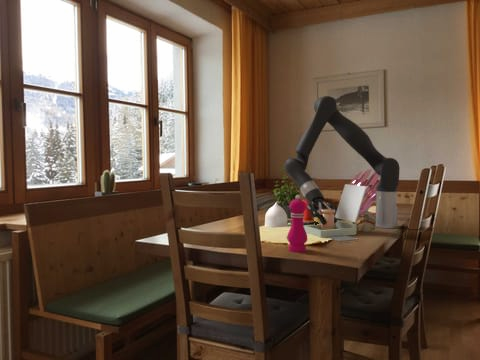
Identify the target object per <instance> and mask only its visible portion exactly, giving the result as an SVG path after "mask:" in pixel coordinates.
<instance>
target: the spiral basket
mask: <svg viewBox="0 0 480 360" xmlns="http://www.w3.org/2000/svg"><path fill="white" fill-rule="evenodd" d="M372 171H373V168H368V169H366V170H365V171H364V173H363V171H362V170H360V171H358V172H357V173H356V174H355V175H354V177H353V178H352V180H351V181H350V183H347V185H357V186H366V187H367V188H366V191H365V194H364V198H363V201H362V204H361V207H360V210H359V214H358V217H362V216H363V214H364V213H365V212H366V211H369V209H370V208H371V207H372V206H373V204H374V203H376V188H377V185H378V184H379V182H380V175H378V174H377V173H376V172H375V171H374V172H373V173H372ZM371 173H372V174H371ZM370 174H371V175H370ZM369 176H370V177H369ZM359 177H360V178H359ZM378 179H379V180H378ZM366 180H367V181H366ZM377 181H378V182H377ZM364 183H365V184H364ZM369 212H370V213H371V215H372V216H374V217H375V218H376V212H371V211H369ZM363 217H364V216H363Z"/></svg>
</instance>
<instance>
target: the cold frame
mask: <svg viewBox="0 0 480 360" xmlns="http://www.w3.org/2000/svg"><path fill="white" fill-rule="evenodd" d="M366 188H367V187H366V186H364V185H362V186H357V185H355V184H353V185H348V183H347V184H344V187H343V191H342V193H341V196H340V199H339V203H338V205H337V209H336V213H335V214H334V215H335V217H336V219H337V222H336V223H335V224H334V229H331V230H321V224H317V225H315V224H305V225H304V224H303V226H304V229H305V231H306V234H308V235H311V236H314V237H318V238H327V237H329V236H341V235H345V236H354V235H357V231H358V229H357V228H358V227H357V226H358V218H359V215H358V214H359V210H360V207H361V205H362V203H363V202H364V199H365V198H364V194H365V191H366ZM363 198H364V199H363ZM342 220H343V221H342ZM346 221H347V222H346ZM350 222H352V223H350Z"/></svg>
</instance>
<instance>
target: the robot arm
mask: <svg viewBox="0 0 480 360" xmlns="http://www.w3.org/2000/svg"><path fill="white" fill-rule="evenodd" d="M335 99H336V98H334V97H332V96H330V95H325V96H321V97H319V98H317V99H316V100H315V101H314V103H313V109H314V112H315V114H314V116H313V119H312V120H311V122H310V123H309V126H308V127H307V128H306V130H305V132H304V133H303V135H302V136H301V137H300V140H299V142H298V143H297V146H296V147H295V153H296V154H297V155H296V156H297V157H296V158H295V157H290V158H288V159H287V160H286V161H285V164H284V167H285V168H284V169H285V171H286V173H287V174H288V175H289V176H290V178H291V179H293V180H294V182H295V183H296V185H297V186H298V188H299V190H300V192H301V194H302V196H303V197H304V199H305V201H306V203H307V204H308V205H306V209H307V211H308V212H309V214H310V215H311V217H313V219H314V218H315V217H317V218H319V220H320V222H321V223H322V224H323V225H325V224H326V223H327V221H326V220H325V218H324V216H323V215H322V213H321V210H322V209H334V210H335V213H334V224H335V223H336V222H337V220H338V218H336V217H335V215H336V212H337V209H336V208H335V206H334V204H333V202H331V201H329V202H327V201H325V195H323V193H322V191H321V190H320V188H319V187H318V185H317V184H316V183H315V181H314V180H313V178H312V177H311V175H310V174H309V173H307V172H306V169H307V166H308V164H309V163H308V161H309V159H310V154H311V152H312V150H313V149H314V147H315V144H316V143H317V141H318V139H319V136H320V135H321V133H322V131H323V129H324V128H325V126H326V124H327V123H328V124H329V125H330V126H331V127H332V128H333V129H334V130H335V131H336V132H337V134H338V135H339V136H340V137H341V138H342V140H344V141H345V142H346V143H347V144H348V145H349V146H350V147H351V148H352V149H353V150H354V151H355V152H356V153H357V154H358V155H359V156H361V157H362V158H363V159H364V160H365V161H366V162H367V163H368V165H369V167H371V169H372V170H374V172H376V173H377V174H378V175H380V177H379V180H380V182H379V181H378V182H379V184H378V185H377V188H376V201H375V213H376V215H375V216H376V224H375V225H376V227H377V228H382V229H394V228H398V216H399V215H398V214H399V211H398V209H399V207H398V206H397V193H398V192H397V191H398V190H397V189H398V187H399V184H400V183H399V182H400V168H401V167H400V164H399V162H398V160H397V159H395V158H392V157H386V156H384V155H383V154H382V153H381V152H380V151H378V149H377V148H376V147H375V146H374V144H373V142H372V140H371V138H370V136H369V135H368V134H367V133H366V132H365V131H364V130H363V129H362V127H360V126H359V125H358V124H357V123H355V122H353V120H351V119H350V118H348V117H346V116H344V115H343V114H342V113H341V112H340V110H338V109H337V108H338V107H337V106H338V105H337V101H336V100H335ZM313 212H314V213H315V214H314V213H313Z"/></svg>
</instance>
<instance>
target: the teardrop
mask: <svg viewBox="0 0 480 360" xmlns="http://www.w3.org/2000/svg"><path fill="white" fill-rule="evenodd" d="M264 226H265V227H266V228H287V227H289V226H288V214H287V213H286V211H285V210H284V208H283V207H281V206H280V205H279V204H278V202H277V201H276V202H275V203H274V205H272V206H271V207H270V208H268V210H267V211H266V213H265V218H264Z"/></svg>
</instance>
